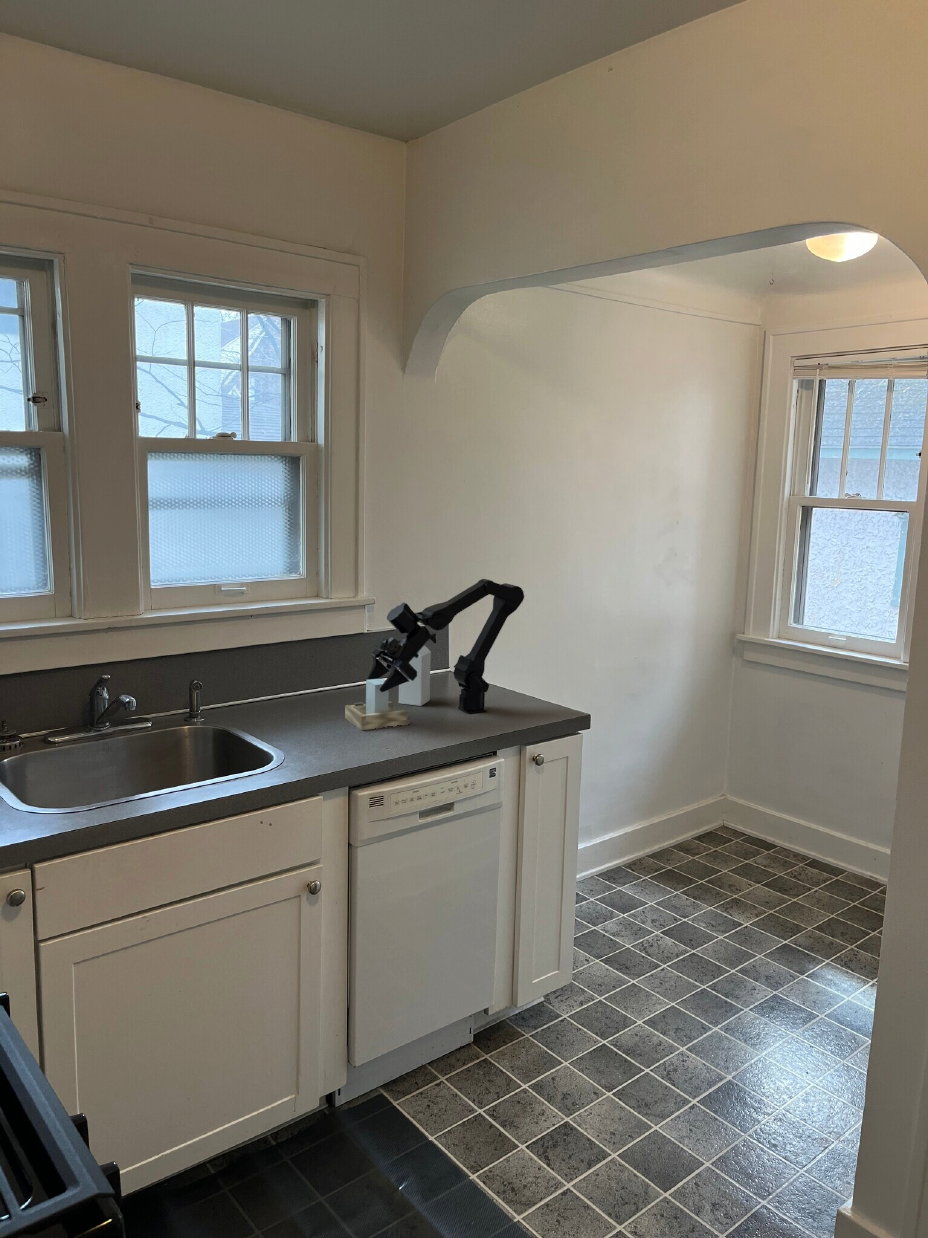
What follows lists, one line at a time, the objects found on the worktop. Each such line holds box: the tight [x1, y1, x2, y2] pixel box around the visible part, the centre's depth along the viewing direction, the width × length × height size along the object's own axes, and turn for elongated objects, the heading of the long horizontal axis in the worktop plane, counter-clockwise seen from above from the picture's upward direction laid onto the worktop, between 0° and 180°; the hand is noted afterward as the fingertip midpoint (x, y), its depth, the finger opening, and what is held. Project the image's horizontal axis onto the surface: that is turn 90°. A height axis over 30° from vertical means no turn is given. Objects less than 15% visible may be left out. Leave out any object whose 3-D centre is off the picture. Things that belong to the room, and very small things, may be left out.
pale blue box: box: [365, 678, 390, 714], centre depth 253 cm, size 4×6×10 cm, turn 29°
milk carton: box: [398, 644, 432, 707], centre depth 274 cm, size 7×7×19 cm
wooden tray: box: [344, 700, 411, 731], centre depth 254 cm, size 14×12×4 cm
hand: (373, 687), depth 252 cm, fingers open, 9 cm apart
